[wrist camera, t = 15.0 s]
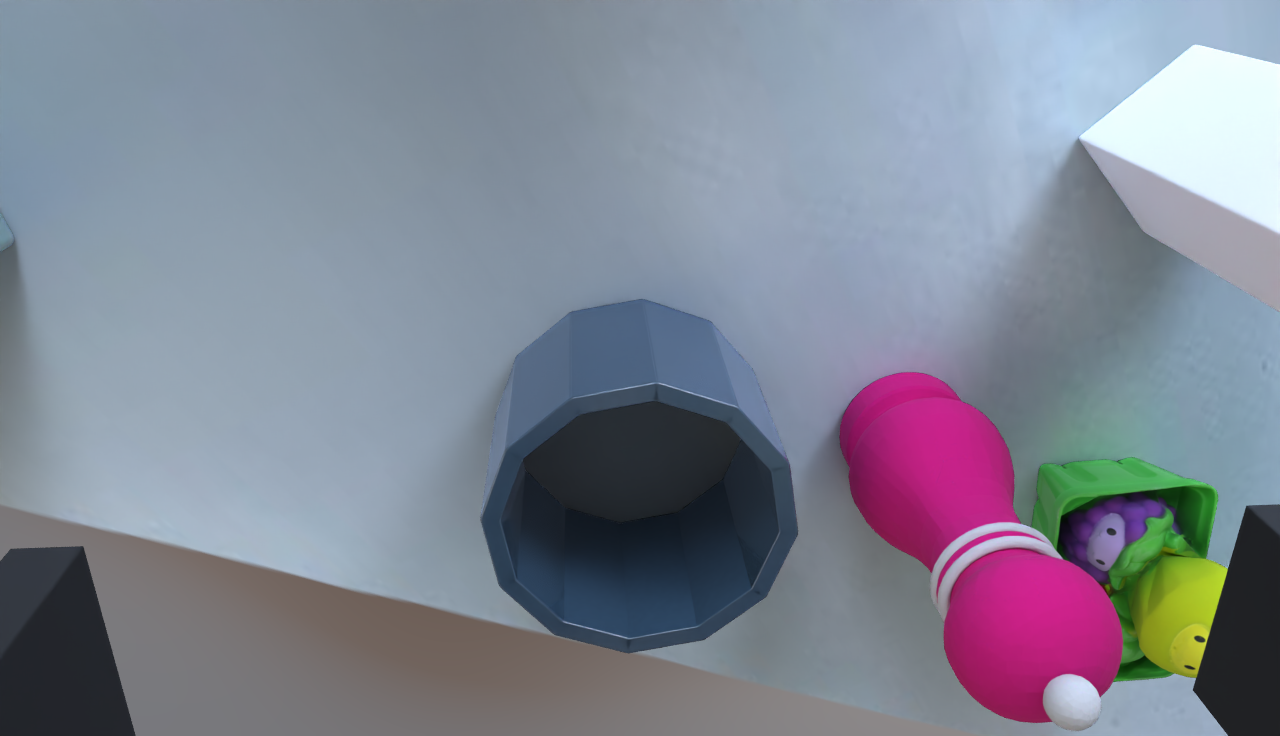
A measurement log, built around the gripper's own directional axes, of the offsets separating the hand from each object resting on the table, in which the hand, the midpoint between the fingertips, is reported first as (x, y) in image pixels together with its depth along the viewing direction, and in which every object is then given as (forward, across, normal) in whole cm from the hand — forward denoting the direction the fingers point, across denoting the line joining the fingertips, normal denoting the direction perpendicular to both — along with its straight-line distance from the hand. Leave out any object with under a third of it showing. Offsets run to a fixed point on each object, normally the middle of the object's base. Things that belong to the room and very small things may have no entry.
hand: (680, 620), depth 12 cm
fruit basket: (+35, +25, -23) cm, 49 cm away
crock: (+34, +1, -16) cm, 38 cm away
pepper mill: (+35, +14, -16) cm, 41 cm away
